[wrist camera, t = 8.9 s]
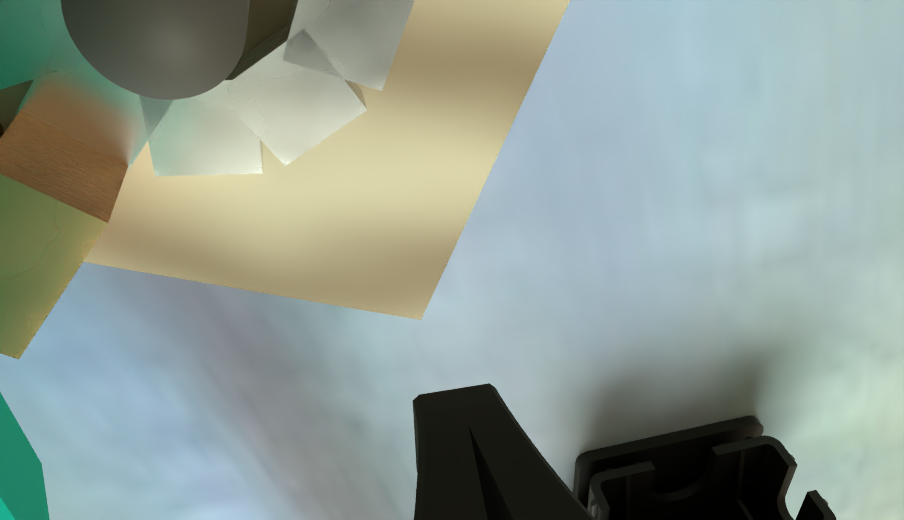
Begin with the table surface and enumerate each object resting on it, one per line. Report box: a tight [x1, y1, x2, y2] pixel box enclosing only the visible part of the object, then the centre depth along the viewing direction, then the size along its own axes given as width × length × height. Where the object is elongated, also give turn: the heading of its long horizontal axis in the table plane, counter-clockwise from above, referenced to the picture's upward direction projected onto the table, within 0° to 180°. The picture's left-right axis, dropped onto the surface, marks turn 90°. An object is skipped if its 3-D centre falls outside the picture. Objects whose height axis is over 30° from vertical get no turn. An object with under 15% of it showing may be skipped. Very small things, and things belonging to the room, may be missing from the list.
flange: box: [0, 0, 415, 359], centre depth 14 cm, size 14×10×4 cm
